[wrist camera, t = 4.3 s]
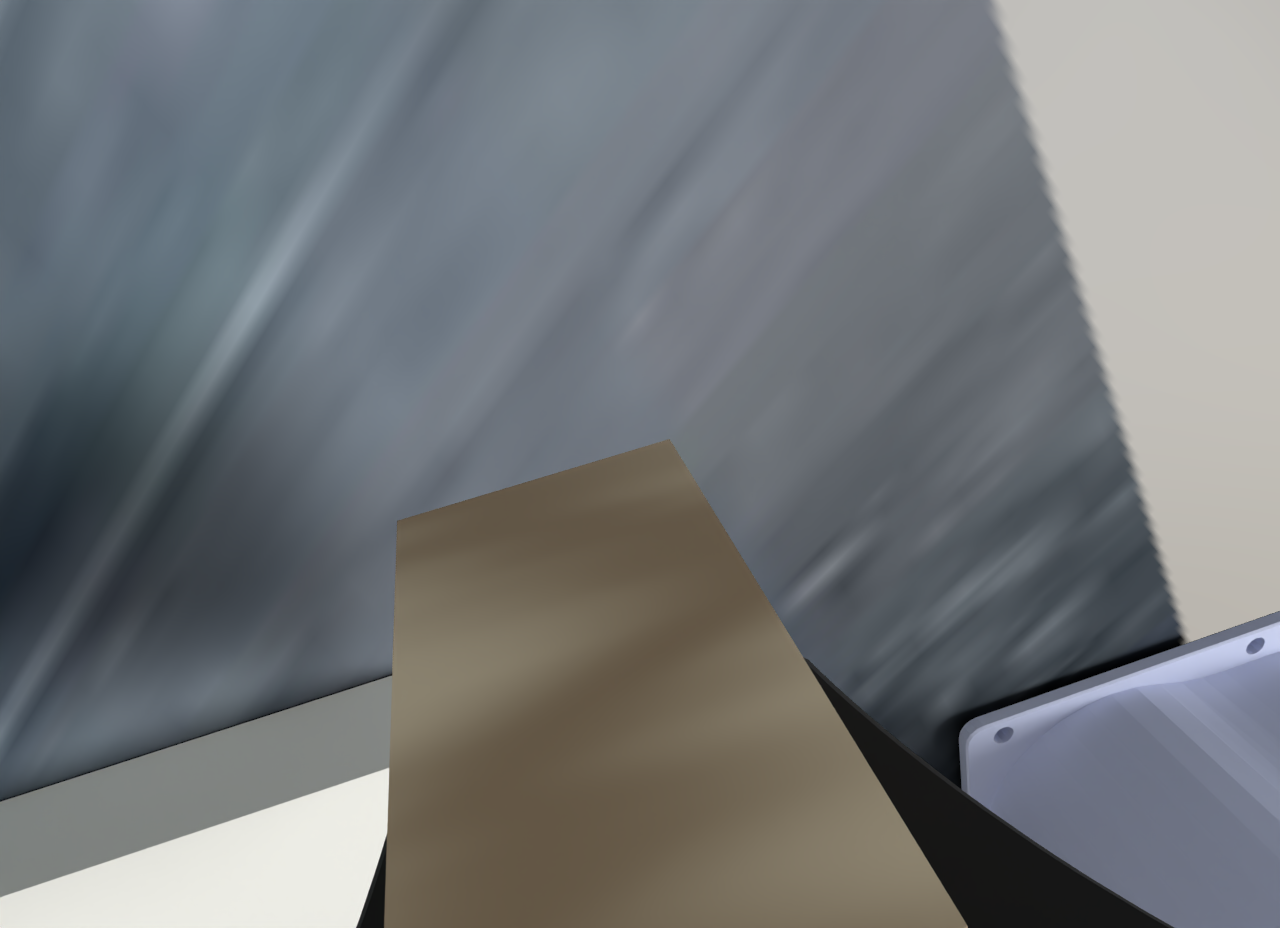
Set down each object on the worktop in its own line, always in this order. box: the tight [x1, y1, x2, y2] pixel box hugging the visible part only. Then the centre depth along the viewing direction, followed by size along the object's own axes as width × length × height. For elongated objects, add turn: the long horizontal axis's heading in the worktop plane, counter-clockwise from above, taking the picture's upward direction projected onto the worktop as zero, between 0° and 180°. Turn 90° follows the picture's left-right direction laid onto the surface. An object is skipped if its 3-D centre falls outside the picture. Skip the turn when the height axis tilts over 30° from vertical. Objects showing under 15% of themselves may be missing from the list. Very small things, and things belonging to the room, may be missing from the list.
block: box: [384, 439, 968, 928], centre depth 9 cm, size 3×6×6 cm, turn 12°
